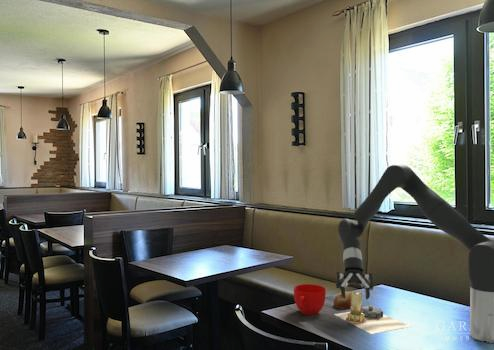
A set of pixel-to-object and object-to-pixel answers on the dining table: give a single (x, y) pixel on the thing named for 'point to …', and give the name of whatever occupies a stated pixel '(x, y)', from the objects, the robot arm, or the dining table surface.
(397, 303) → the dining table surface
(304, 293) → the ceramic cup
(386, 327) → the gear board
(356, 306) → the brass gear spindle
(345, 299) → the bread roll
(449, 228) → the robot arm
